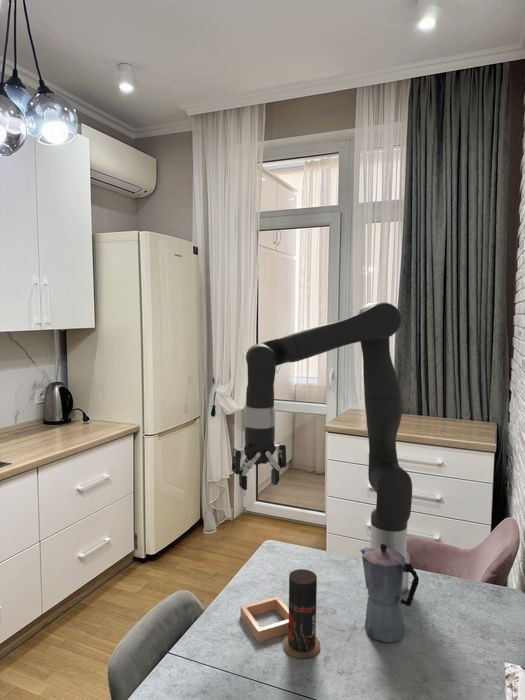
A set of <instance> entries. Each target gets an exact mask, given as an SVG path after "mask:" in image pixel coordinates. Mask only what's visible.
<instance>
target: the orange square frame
mask: <svg viewBox="0 0 525 700" xmlns="http://www.w3.org/2000/svg"><path fill="white" fill-rule="evenodd" d="M274 610H276V611H277V612H278V613H279V615H280V616H281V617H282V619H284V620H281V621H278V622H274V623H272V624H268V625H265V626H260V624H259V623H258V622H257V621H256V619H255V618H254V616H257V615H261V614H264V613H268V612H270V611H274ZM239 617H240V618H241V619H242V621H243V622H244V624H245V626H246V627H247V628H248V630H249V631H250V633H251V634H252V636H253V637H254V638H255V641H257V643H261V642H265V641H267V640H270V639H274V638H276V637H280V636H283V635H286V634H287V635H288V622H289V606H287V605H286V604H285V603H284V602H283V600H282V599H281V598H280V596H278V595H277V596H274V597H270V598H267V599H263V600H258V601H255V602H252V603H249V604H244V605H242V606H240V616H239Z"/></svg>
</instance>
